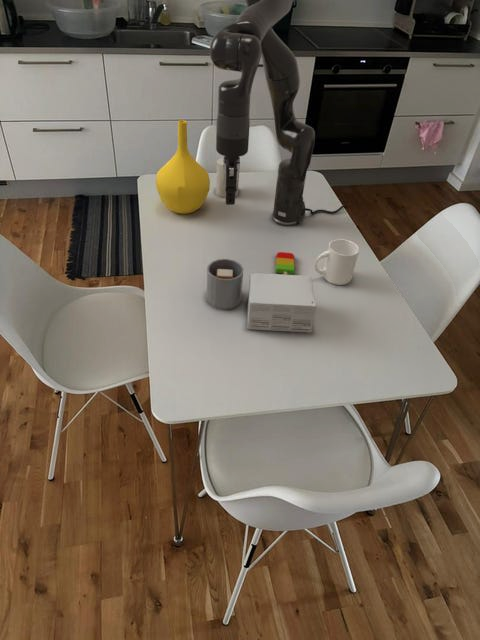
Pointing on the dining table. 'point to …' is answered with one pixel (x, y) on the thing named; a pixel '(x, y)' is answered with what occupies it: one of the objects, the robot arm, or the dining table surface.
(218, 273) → the juice carton
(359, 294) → the dining table surface
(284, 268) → the popsicle
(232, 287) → the steel cup
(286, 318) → the supplement box
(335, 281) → the mug
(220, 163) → the cup
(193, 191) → the vase
